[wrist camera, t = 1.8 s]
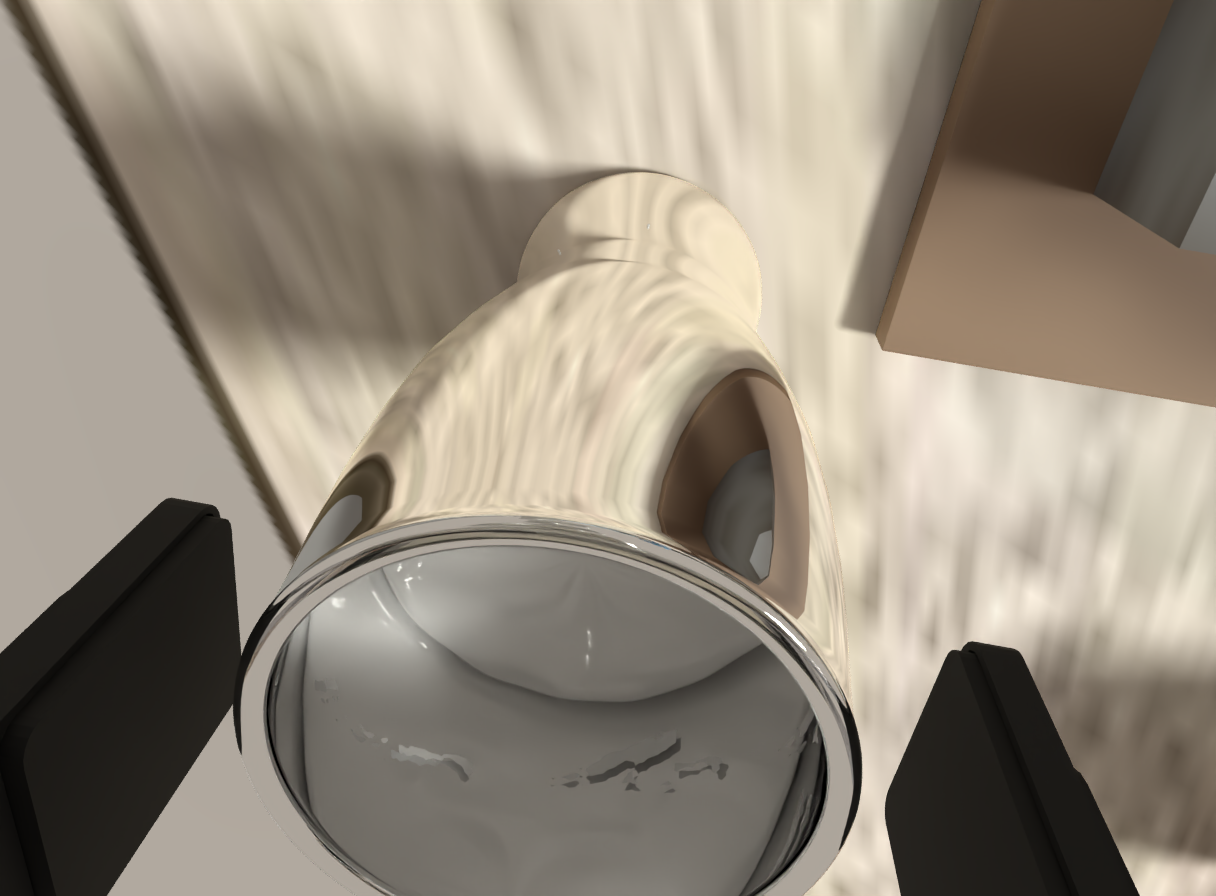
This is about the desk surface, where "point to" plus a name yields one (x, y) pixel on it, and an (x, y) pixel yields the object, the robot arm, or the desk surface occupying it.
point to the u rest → (1072, 201)
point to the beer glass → (572, 594)
